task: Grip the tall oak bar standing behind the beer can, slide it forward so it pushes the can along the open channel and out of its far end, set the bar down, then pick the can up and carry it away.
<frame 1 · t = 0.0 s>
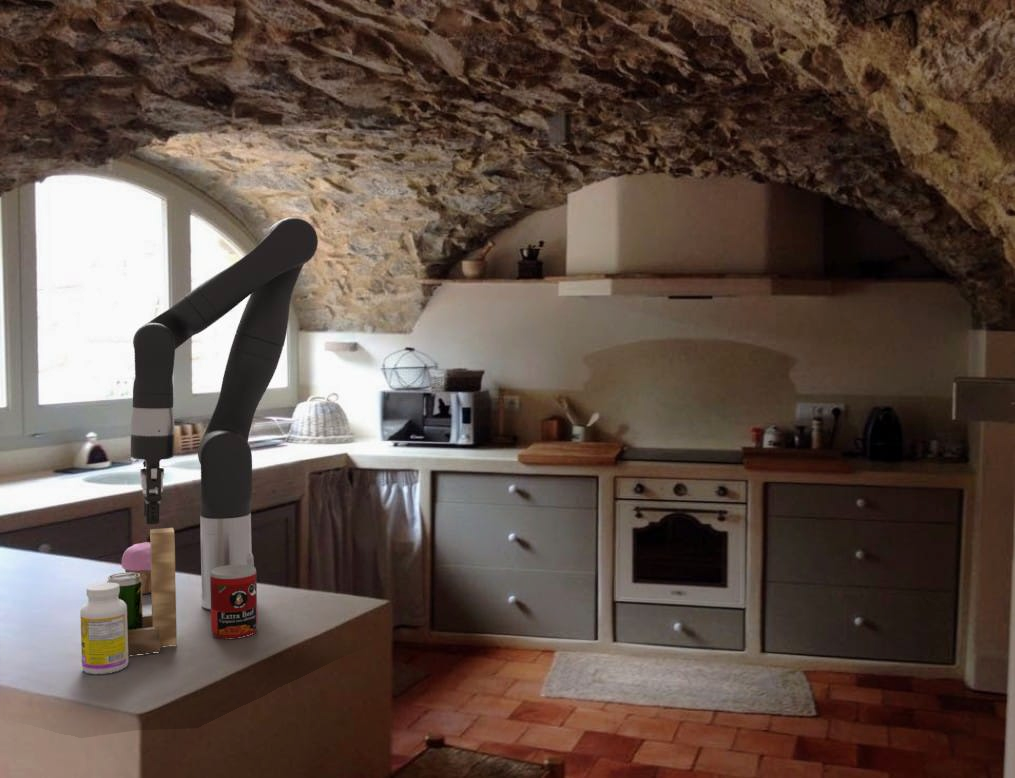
hand: (151, 520, 183), 17 cm above the counter, tool pointing down, fingers open, 8 cm apart
supplement bottle: (105, 669, 153), on the counter
canned food: (234, 633, 171), on the counter
channel: (125, 648, 163), on the counter
beer can: (125, 649, 163), on the counter
cupcake: (145, 592, 199), on the counter
bar: (164, 644, 165), on the counter
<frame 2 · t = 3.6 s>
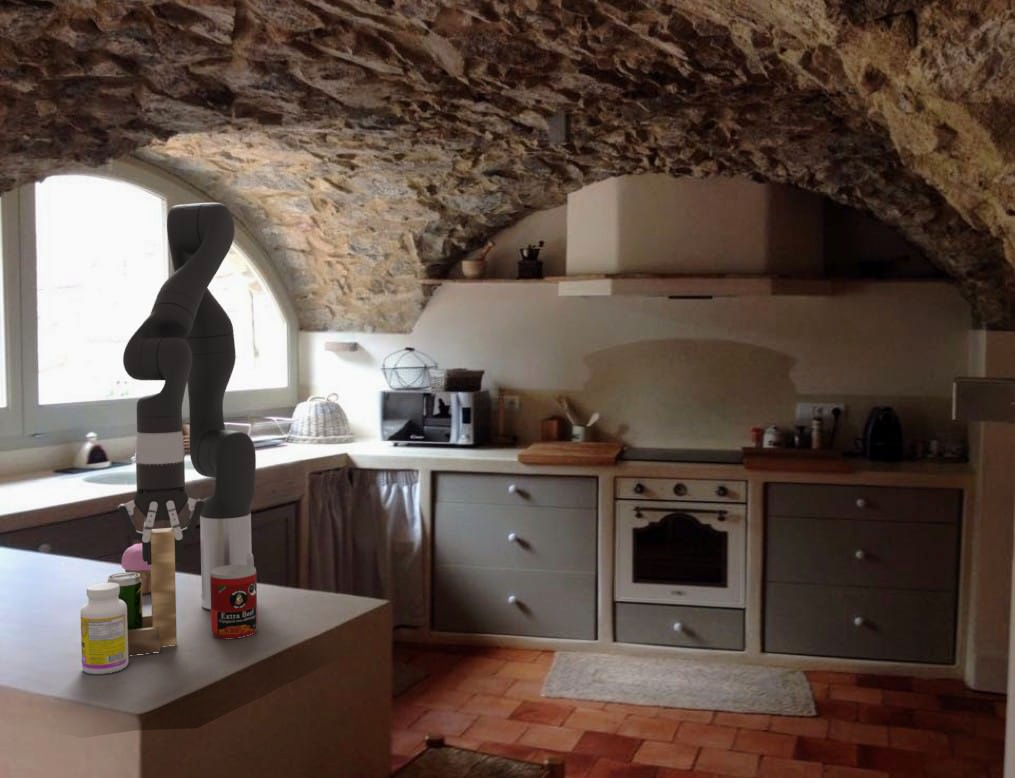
hand: (162, 562, 164), 14 cm above the counter, tool pointing down, fingers closed on bar, 3 cm apart
bar: (164, 643, 165), on the counter, touching gripper
everything else where it was.
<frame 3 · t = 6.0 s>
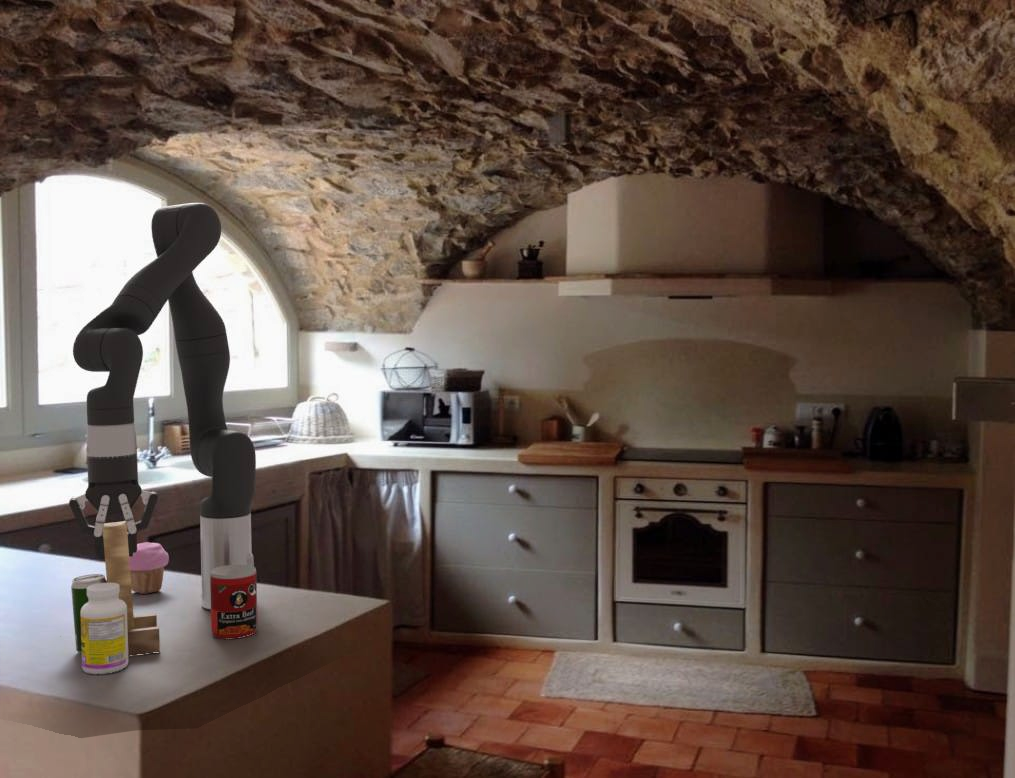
hand: (116, 556, 162), 15 cm above the counter, tool pointing down, fingers closed on bar, 3 cm apart
beer can: (94, 651, 161), on the counter, touching bar
bar: (123, 638, 163), point 2 cm above the counter, touching beer can, gripper
everything else where it was.
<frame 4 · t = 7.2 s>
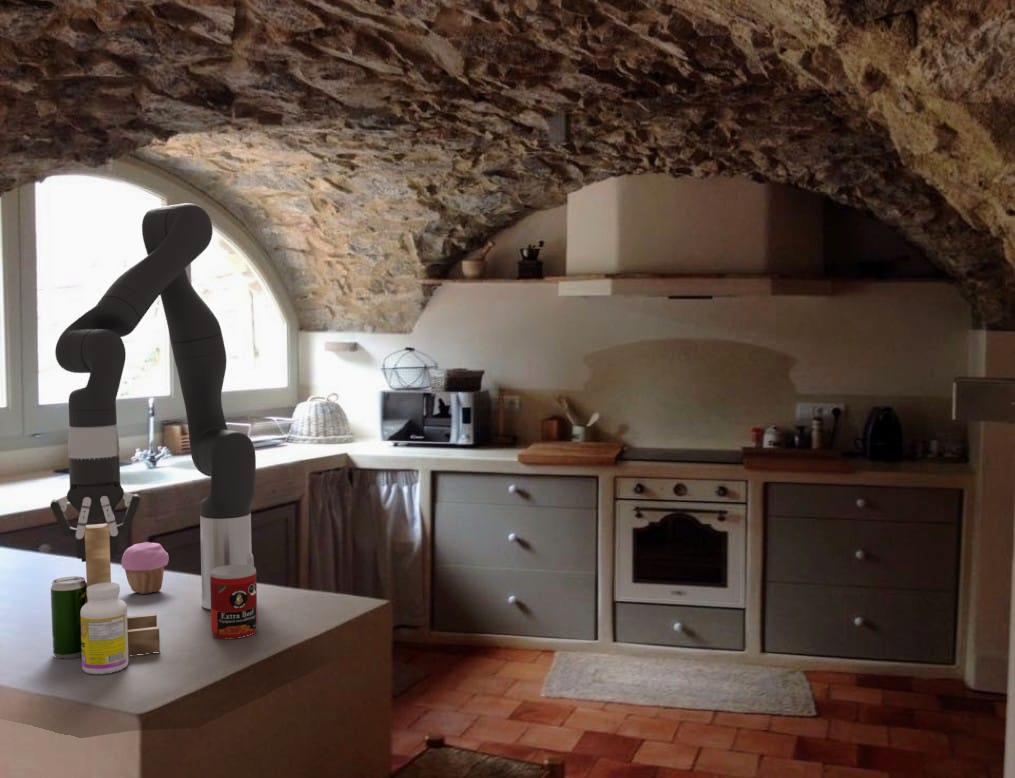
hand: (97, 559, 161), 15 cm above the counter, tool pointing down, fingers closed on bar, 3 cm apart
beer can: (71, 655, 160), on the counter, touching bar
bar: (101, 642, 161), point 1 cm above the counter, touching beer can, gripper
everything else where it was.
when the fingers open (14 cm above the counter, at t = 8.8 s): bar stays where it is, on the counter.
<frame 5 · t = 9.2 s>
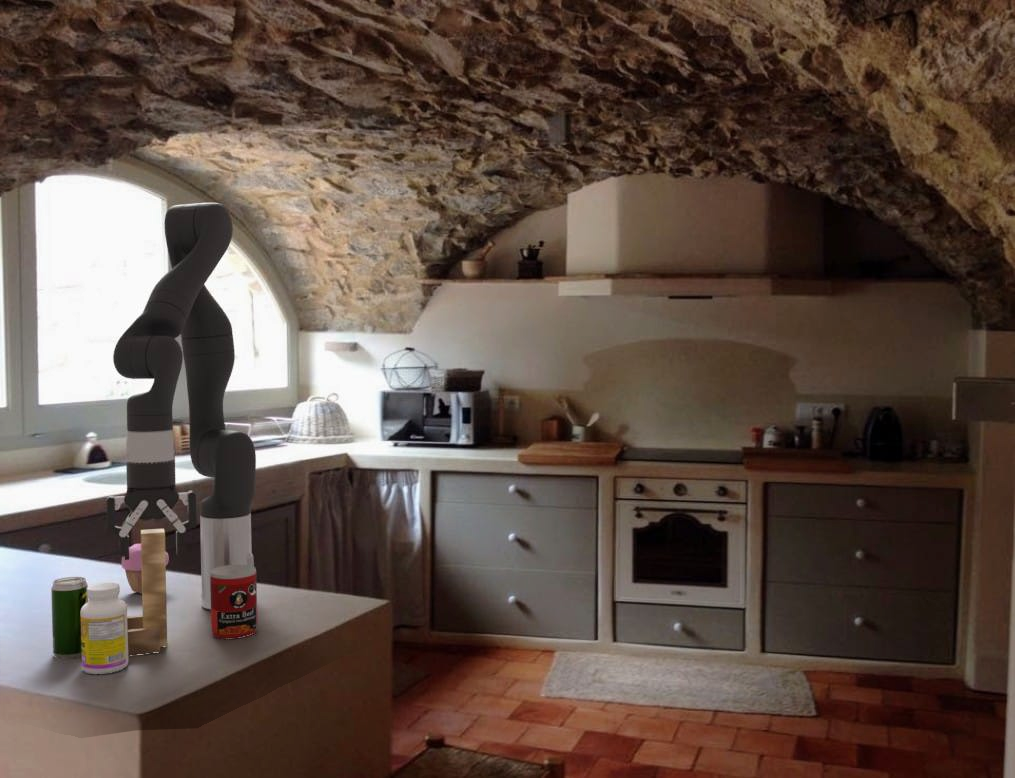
hand: (153, 556, 164), 15 cm above the counter, tool pointing down, fingers open, 7 cm apart
beer can: (71, 655, 160), on the counter
bar: (155, 645, 164), on the counter
everything else where it was.
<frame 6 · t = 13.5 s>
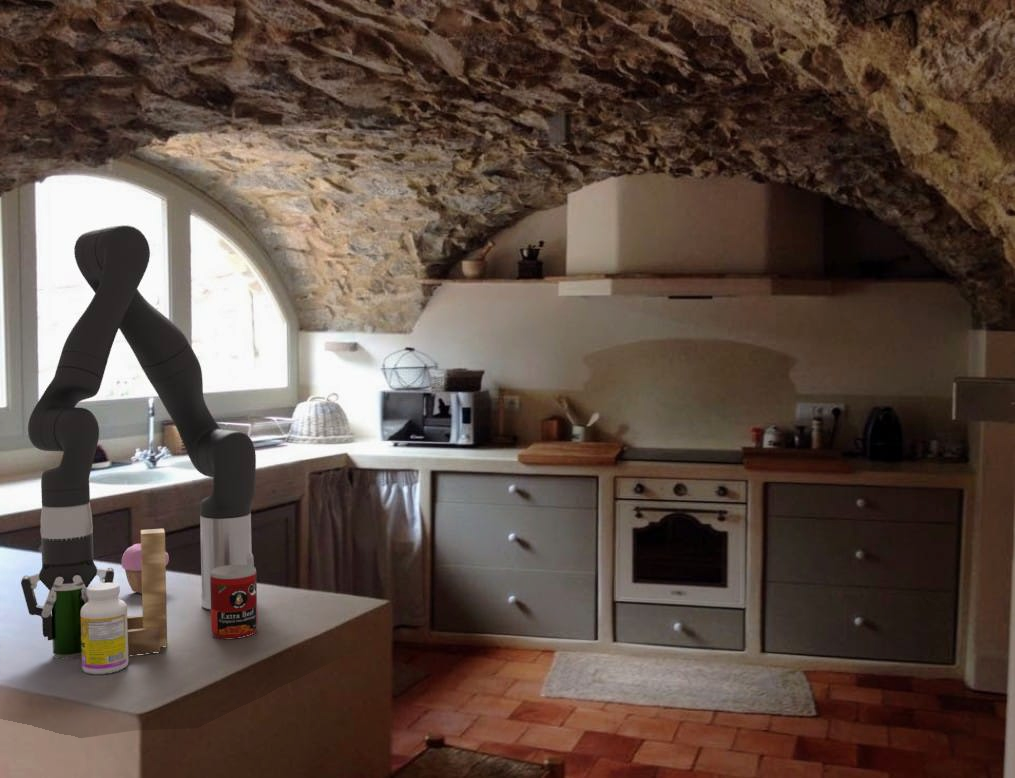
hand: (70, 636, 159), 3 cm above the counter, tool pointing down, fingers closed on beer can, 5 cm apart
beer can: (71, 655, 160), on the counter, touching gripper
everything else where it was.
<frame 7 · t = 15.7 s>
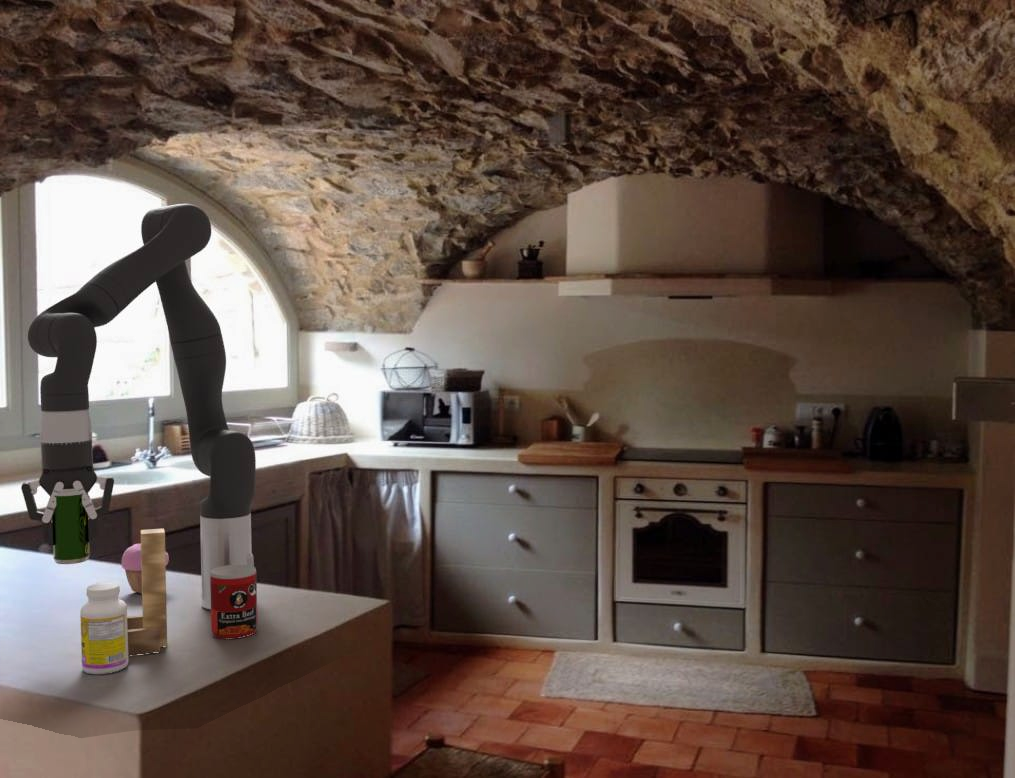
hand: (71, 542, 160), 18 cm above the counter, tool pointing down, fingers closed on beer can, 5 cm apart
beer can: (72, 562, 160), point 15 cm above the counter, touching gripper
everything else where it was.
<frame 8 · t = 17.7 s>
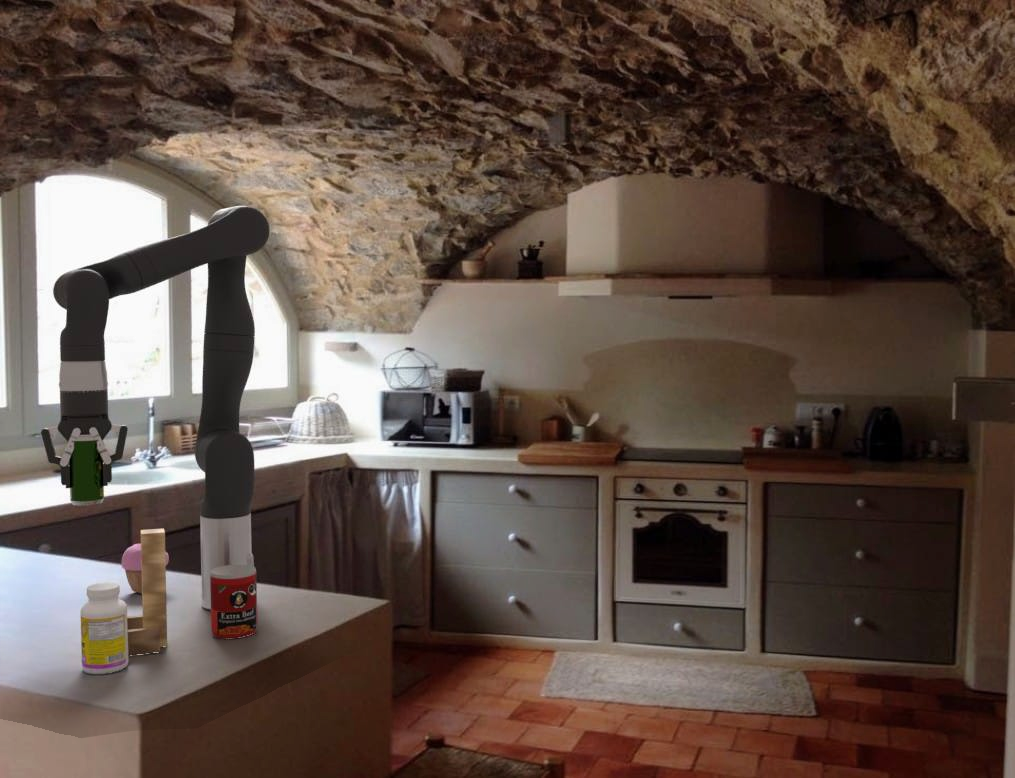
hand: (86, 486, 170), 25 cm above the counter, tool pointing down, fingers closed on beer can, 5 cm apart
beer can: (87, 504, 171), point 22 cm above the counter, touching gripper
everything else where it was.
at the end: the gripper is holding beer can; beer can inside the target area (7.0 cm from its centre), point 22.2 cm above the counter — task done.
